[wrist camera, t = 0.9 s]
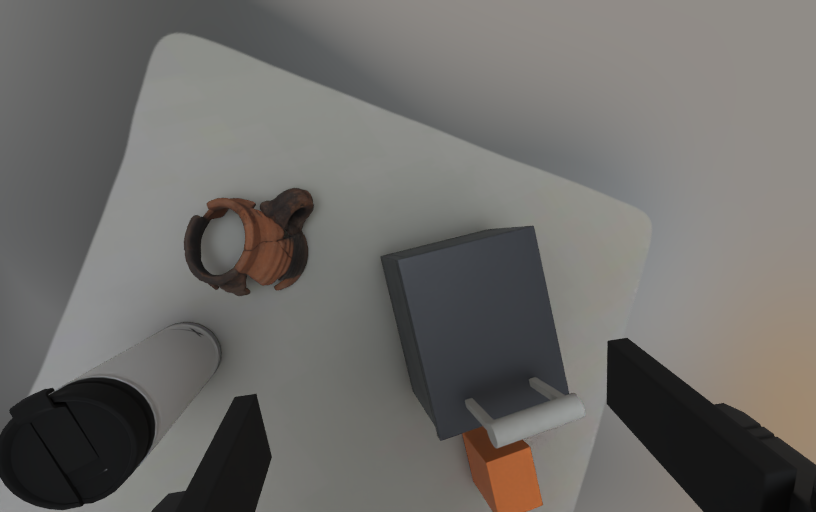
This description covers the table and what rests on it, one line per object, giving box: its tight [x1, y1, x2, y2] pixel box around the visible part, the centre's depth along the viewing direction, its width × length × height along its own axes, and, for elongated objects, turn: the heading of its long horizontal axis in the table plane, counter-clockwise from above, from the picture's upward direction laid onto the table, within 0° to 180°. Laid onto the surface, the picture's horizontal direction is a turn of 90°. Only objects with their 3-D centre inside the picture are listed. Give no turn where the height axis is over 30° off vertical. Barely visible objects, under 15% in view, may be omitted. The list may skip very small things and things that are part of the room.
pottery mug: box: [184, 188, 314, 296], centre depth 39 cm, size 12×10×8 cm
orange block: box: [462, 426, 543, 512], centre depth 44 cm, size 6×5×7 cm
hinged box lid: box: [396, 226, 585, 448], centre depth 33 cm, size 16×12×8 cm
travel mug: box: [0, 322, 221, 510], centre depth 31 cm, size 6×7×20 cm
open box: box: [381, 226, 527, 425], centre depth 41 cm, size 15×12×9 cm
